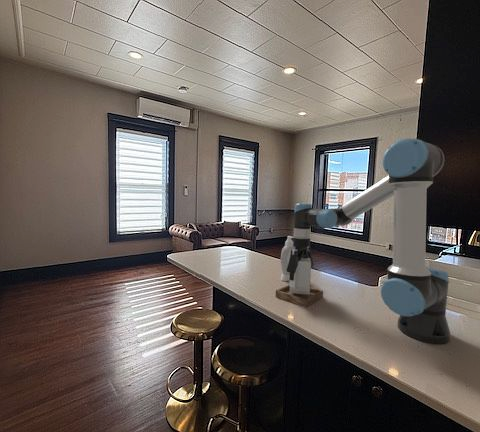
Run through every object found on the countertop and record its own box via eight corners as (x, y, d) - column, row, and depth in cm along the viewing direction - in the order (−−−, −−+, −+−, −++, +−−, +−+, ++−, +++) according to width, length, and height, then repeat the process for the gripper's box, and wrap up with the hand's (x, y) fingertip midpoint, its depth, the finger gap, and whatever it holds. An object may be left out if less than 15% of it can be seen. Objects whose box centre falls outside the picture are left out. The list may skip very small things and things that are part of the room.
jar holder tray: (322, 297, 122) (323, 291, 122) (305, 307, 111) (305, 300, 110) (293, 288, 133) (294, 282, 132) (275, 296, 121) (275, 290, 121)
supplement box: (310, 295, 116) (311, 262, 115) (289, 293, 118) (290, 260, 117) (309, 288, 125) (310, 257, 124) (289, 286, 127) (291, 256, 126)
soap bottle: (287, 284, 139) (289, 238, 137) (276, 280, 145) (278, 236, 143) (302, 279, 148) (304, 236, 146) (291, 276, 153) (293, 234, 151)
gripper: (307, 234, 131) (305, 276, 132) (279, 239, 113) (277, 287, 115) (321, 235, 126) (319, 280, 127) (294, 241, 108) (292, 292, 110)
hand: (299, 283), depth 121 cm, fingers closed on supplement box, 12 cm apart
